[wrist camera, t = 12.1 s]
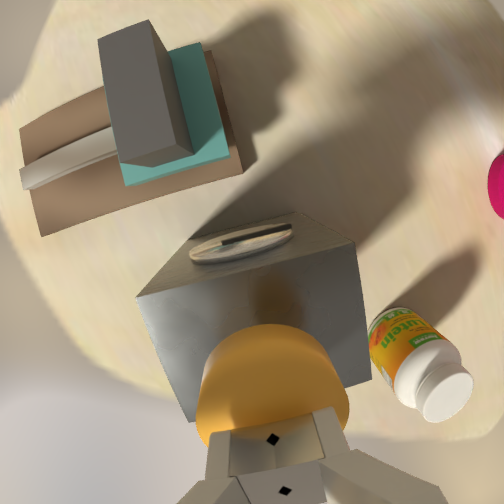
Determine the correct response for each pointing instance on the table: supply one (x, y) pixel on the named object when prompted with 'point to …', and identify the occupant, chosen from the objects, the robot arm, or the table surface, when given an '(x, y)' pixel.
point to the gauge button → (267, 380)
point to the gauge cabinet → (256, 297)
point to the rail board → (98, 163)
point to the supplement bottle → (419, 364)
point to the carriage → (159, 105)
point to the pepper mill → (497, 185)
